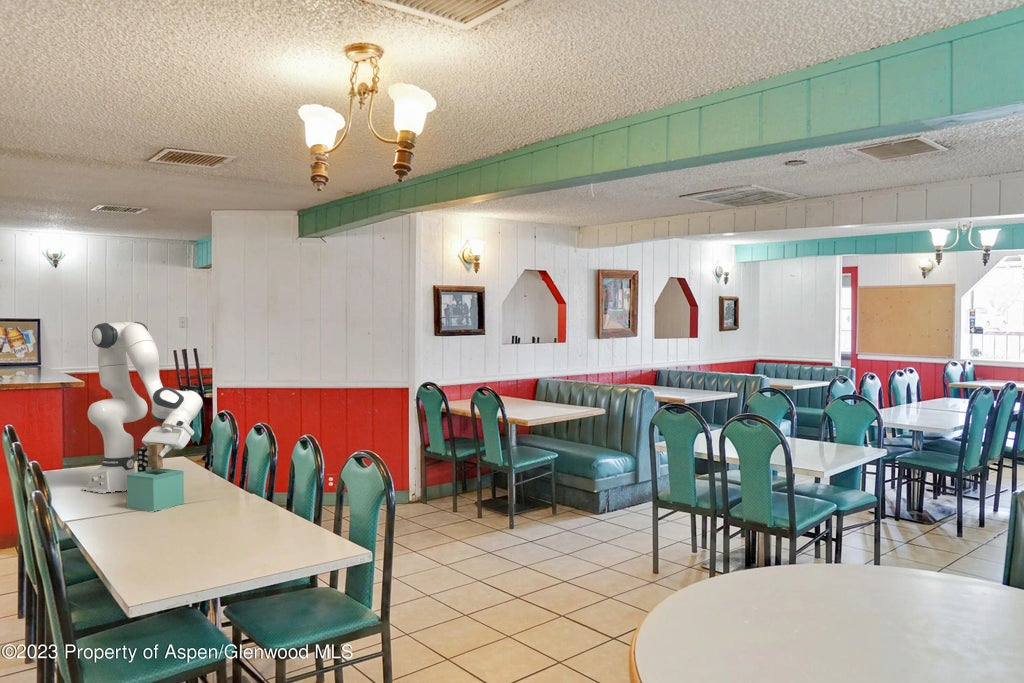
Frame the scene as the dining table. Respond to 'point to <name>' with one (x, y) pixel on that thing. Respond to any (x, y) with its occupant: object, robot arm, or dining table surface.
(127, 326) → the robot arm
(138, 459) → the white-spotted black cylinder
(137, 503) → the box
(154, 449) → the brown rectangular block
